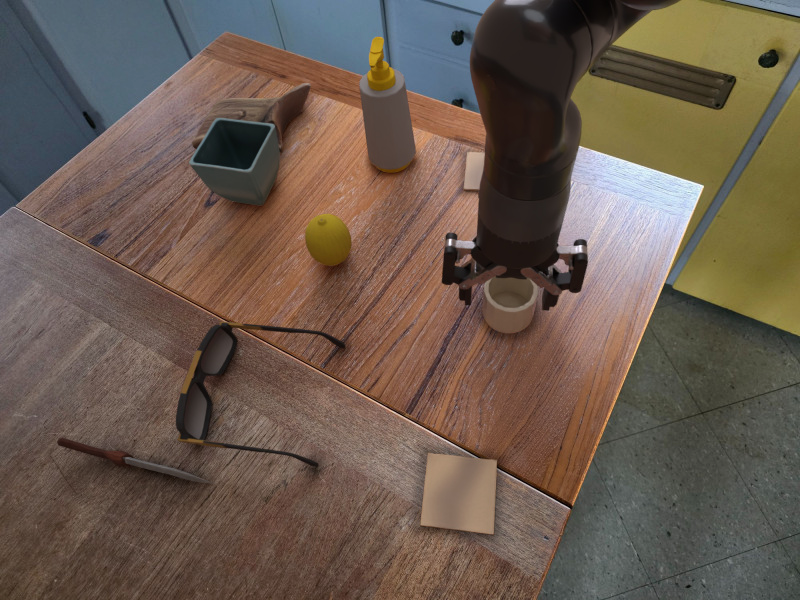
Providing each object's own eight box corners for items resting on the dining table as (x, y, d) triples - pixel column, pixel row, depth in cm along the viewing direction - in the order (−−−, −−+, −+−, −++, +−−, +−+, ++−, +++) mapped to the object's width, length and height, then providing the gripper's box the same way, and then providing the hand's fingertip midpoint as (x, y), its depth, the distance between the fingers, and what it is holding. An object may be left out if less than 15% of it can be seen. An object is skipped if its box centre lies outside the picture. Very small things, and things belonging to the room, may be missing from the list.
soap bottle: (365, 176, 78) (342, 64, 63) (373, 141, 81) (352, 27, 66) (413, 177, 77) (402, 64, 62) (419, 142, 80) (409, 26, 65)
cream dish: (533, 292, 66) (538, 268, 61) (532, 335, 63) (538, 313, 58) (484, 289, 66) (485, 265, 62) (481, 331, 63) (482, 309, 59)
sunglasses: (318, 467, 57) (307, 454, 53) (183, 449, 59) (162, 434, 55) (346, 347, 64) (338, 326, 60) (224, 334, 66) (208, 314, 62)
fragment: (228, 104, 91) (216, 76, 87) (319, 104, 88) (311, 75, 84) (197, 157, 84) (182, 130, 80) (295, 159, 80) (284, 131, 76)
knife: (222, 478, 57) (211, 471, 55) (216, 493, 57) (204, 487, 54) (73, 440, 61) (56, 431, 59) (66, 453, 60) (48, 445, 58)
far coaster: (517, 154, 77) (517, 153, 77) (516, 192, 74) (516, 190, 74) (467, 153, 78) (467, 151, 78) (463, 190, 75) (463, 188, 75)
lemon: (305, 261, 71) (288, 221, 64) (336, 235, 73) (324, 194, 66) (333, 285, 69) (319, 246, 62) (365, 257, 70) (355, 217, 64)
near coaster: (496, 460, 56) (497, 460, 55) (493, 534, 52) (493, 534, 52) (427, 453, 57) (427, 452, 57) (420, 525, 53) (420, 525, 53)
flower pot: (293, 172, 80) (275, 123, 72) (271, 219, 75) (250, 172, 68) (238, 165, 81) (215, 116, 74) (213, 210, 77) (186, 163, 70)
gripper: (436, 235, 47) (440, 326, 61) (609, 244, 45) (572, 335, 59) (443, 171, 51) (446, 270, 65) (603, 176, 49) (570, 277, 63)
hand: (506, 301), depth 62 cm, fingers open, 8 cm apart
